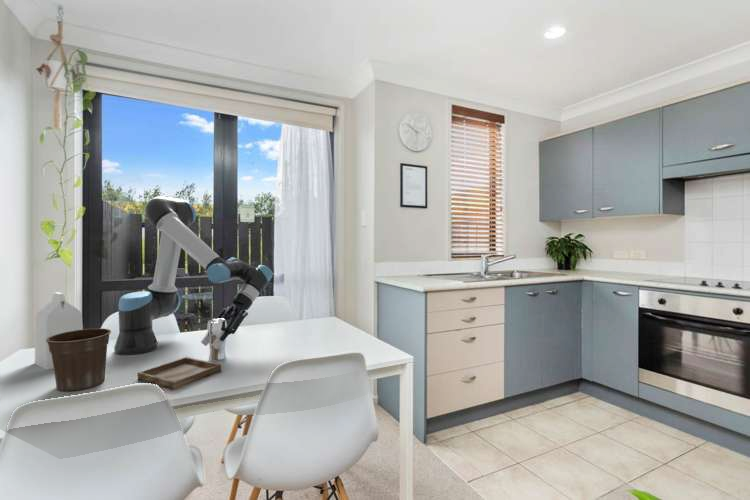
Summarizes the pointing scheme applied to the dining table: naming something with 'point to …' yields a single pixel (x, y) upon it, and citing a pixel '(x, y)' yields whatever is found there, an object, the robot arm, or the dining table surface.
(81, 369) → the plant pot
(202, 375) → the walnut tray
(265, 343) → the dining table surface
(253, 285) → the robot arm
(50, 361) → the milk
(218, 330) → the beer glass
